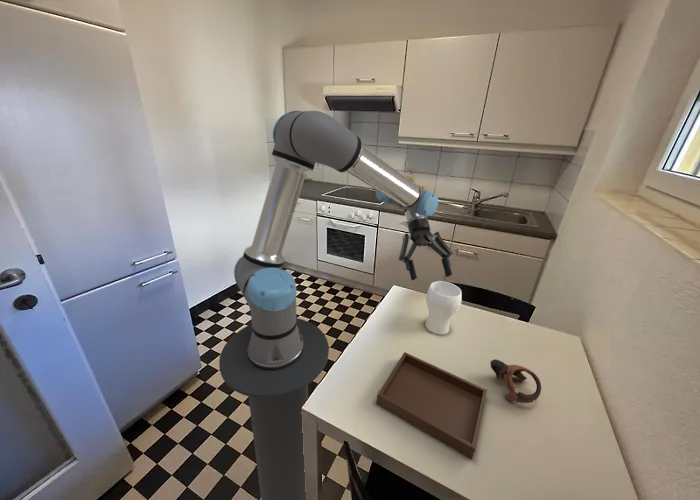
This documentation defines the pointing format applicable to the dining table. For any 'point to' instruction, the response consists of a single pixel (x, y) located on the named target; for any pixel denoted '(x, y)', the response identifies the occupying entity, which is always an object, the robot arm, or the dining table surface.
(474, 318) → the dining table surface
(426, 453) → the dining table surface
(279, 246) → the robot arm
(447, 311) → the cup
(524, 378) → the brown curled loop
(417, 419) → the tray
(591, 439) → the dining table surface
